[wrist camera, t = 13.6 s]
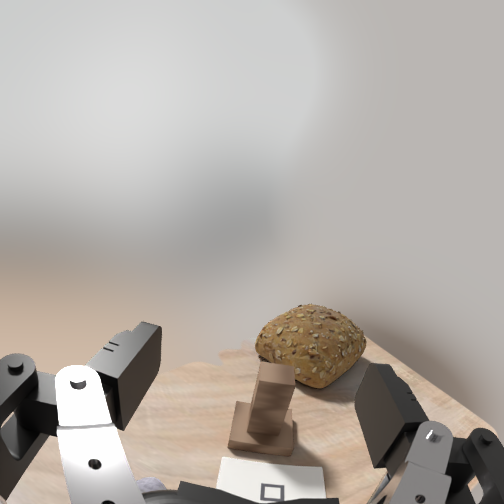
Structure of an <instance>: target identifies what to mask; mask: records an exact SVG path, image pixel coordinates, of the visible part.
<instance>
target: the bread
mask: <svg viewBox="0 0 504 504" xmlns="http://www.w3.org/2000/svg"><path fill="white" fill-rule="evenodd" d="M366 343H367V342H366V337H364V335H363V331H361V330H360V328H358V326H356V325H355V323H353V322H352V320H350V319H348V318H347V317H346V316H344V315H343V314H341V313H340V312H339V311H338V312H336V311H333V310H332V309H327V308H326V307H324V306H318V305H312V304H308V305H304V306H302V305H299V306H298V307H297V308H293V309H290V310H289V311H288V312H285V313H283V314H281V315H279V316H277V317H276V318H275V319H273V320H271V321H270V322H268V324H267V325H265V326H264V327H263V329H262V331H261V332H260V333H259V335H258V337H257V339H256V342H255V349H256V352H257V353H258V354H259V355H261V356H262V357H264V358H265V359H267V360H268V361H270V362H271V363H275V364H282V365H289V366H294V375H295V379H296V380H298V381H299V382H301V383H303V384H306V385H308V386H311V387H314V388H324V387H326V386H328V385H329V384H331V383H332V382H333V381H335V380H336V379H337V378H339V377H340V376H341V375H342V374H344V373H345V372H346V371H347V370H349V369H350V368H351V367H352V366H353V364H354V363H355V362H356V361H358V359H359V357H360V356H361V355H362V354H363V352H364V350H365V347H366Z"/></svg>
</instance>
